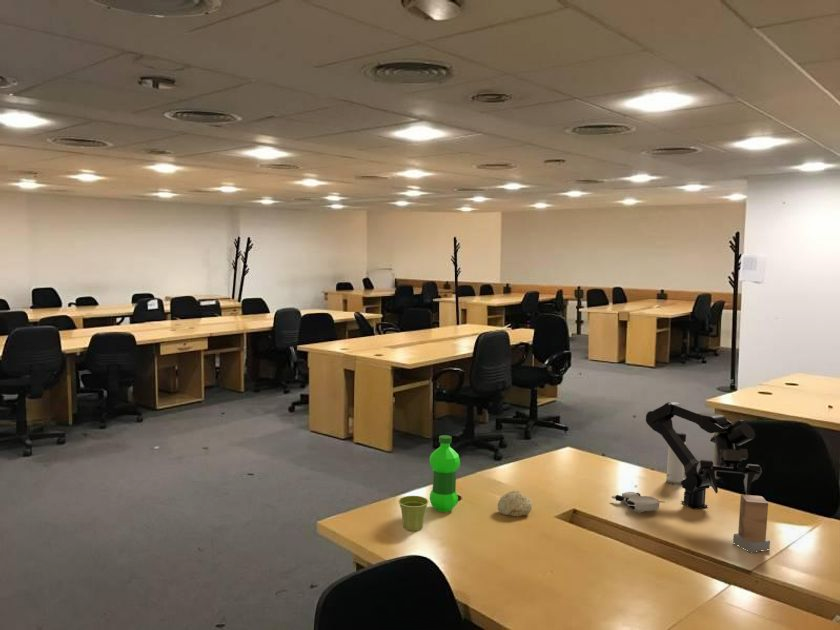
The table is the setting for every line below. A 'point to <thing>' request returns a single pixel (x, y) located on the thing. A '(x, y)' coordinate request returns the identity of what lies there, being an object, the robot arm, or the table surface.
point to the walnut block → (753, 518)
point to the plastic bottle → (444, 475)
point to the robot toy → (638, 501)
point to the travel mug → (675, 465)
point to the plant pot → (413, 512)
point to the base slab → (751, 544)
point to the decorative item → (514, 504)
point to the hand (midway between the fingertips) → (732, 494)
